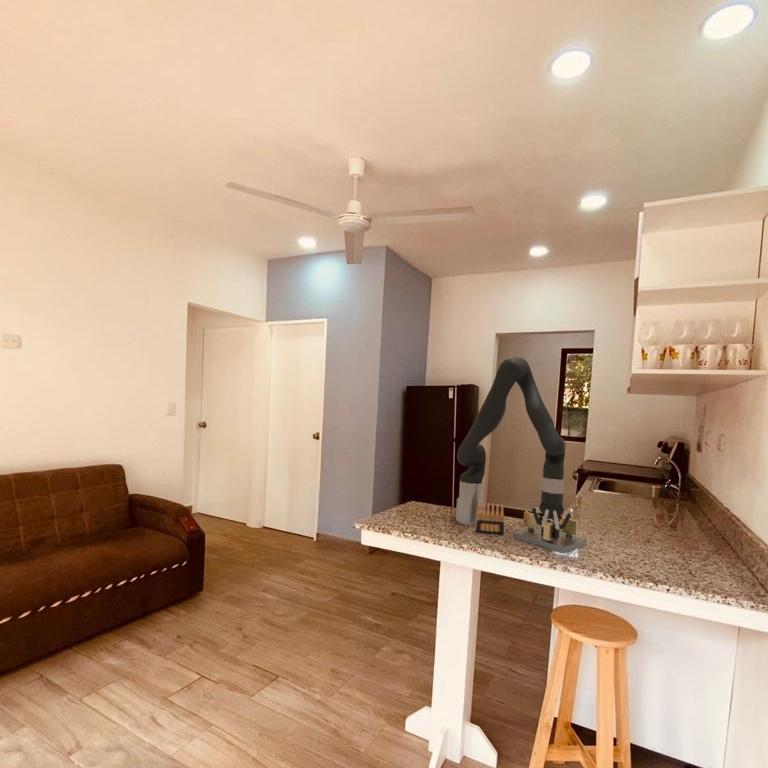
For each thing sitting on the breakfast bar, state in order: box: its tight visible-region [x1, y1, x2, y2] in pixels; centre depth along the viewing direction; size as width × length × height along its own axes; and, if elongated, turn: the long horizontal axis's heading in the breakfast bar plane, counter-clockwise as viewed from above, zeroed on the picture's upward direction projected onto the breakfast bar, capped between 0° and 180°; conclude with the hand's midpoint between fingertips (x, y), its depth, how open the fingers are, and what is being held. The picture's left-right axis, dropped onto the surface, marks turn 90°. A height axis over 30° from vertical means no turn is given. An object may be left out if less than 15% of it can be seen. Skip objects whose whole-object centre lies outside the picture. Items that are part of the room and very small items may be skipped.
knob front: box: [543, 521, 556, 543], centre depth 159 cm, size 2×6×7 cm, turn 132°
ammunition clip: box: [475, 501, 505, 536], centre depth 171 cm, size 11×2×12 cm, turn 86°
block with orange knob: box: [522, 510, 541, 531], centre depth 172 cm, size 2×6×7 cm, turn 41°
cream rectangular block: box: [560, 515, 579, 537], centre depth 167 cm, size 2×6×7 cm, turn 51°
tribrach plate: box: [512, 515, 588, 554], centre depth 166 cm, size 20×18×9 cm
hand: (550, 537), depth 159 cm, fingers closed on knob front, 3 cm apart
